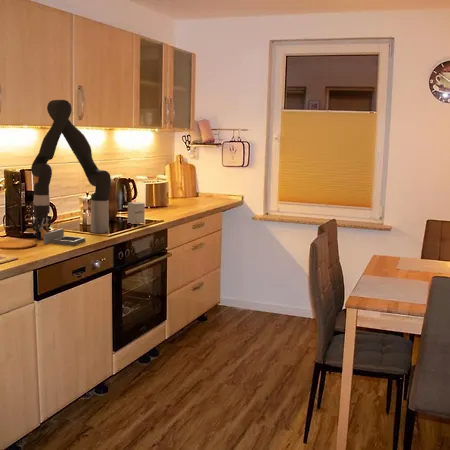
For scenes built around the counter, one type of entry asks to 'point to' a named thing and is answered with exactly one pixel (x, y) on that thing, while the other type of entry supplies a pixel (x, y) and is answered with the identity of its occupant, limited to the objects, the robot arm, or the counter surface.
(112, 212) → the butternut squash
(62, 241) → the tray
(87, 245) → the counter surface
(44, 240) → the wall
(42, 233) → the ball
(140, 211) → the supplement box
